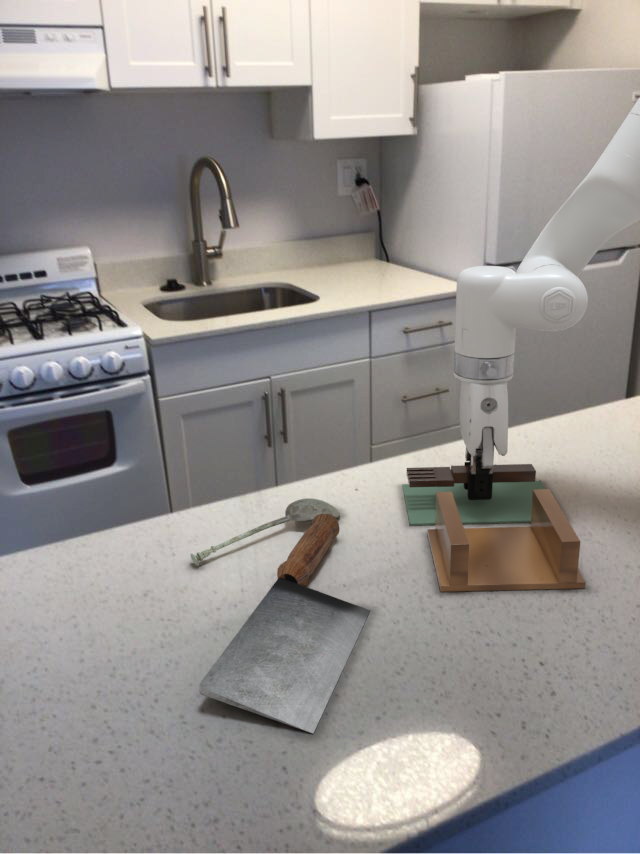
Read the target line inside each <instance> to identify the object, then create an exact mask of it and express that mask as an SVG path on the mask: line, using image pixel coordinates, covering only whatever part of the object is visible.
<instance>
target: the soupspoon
mask: <svg viewBox="0 0 640 854" xmlns="http://www.w3.org/2000/svg"><path fill="white" fill-rule="evenodd" d="M284 512H285V513H284V515H285V516H282V517H280V518H277V519H274V520H271V521H269V522H266V523H264V524H261V525H259V526H256V527H255V528H252V529H250V530H247V531H246V532H243V533H241V534H239V535H236V536H234V537H232V538H230V539H228V540H226V541H223V542H221V543H219V544H217V545H215V546H214V545H211V546H210V548H208V549H207V548H206V549H203V550H202V551H200V552H196V555H195V554H194V553H193V552H192V553H191V552H190V559H191V561H192V562H193V564H194V565H195V566H196V567H199V565H200V562H203V561H204V559H206V558H207V557H209V556H211V554H212V553H214V554H215V553H217V551H219V550H221V549H223V548H225V547H228V546H230V545H232V544H235V543H237V542H240V541H242V540H244V539H246V538H249V537H251V536H254V535H255V534H258V533H260V532H263V531H265V530H268V529H270V528H273V527H275V526H279V525H282V524H286V523H289V522H305V521H313V519H314V517H316V516H317V515H319V514H331V515H333V516H334V517H336V519H337V518H339V517H340V516H341V513H340V511H339V510H338V509H337V508H335V507H334V506H333V505H331V504H330V503H329V502H327V501H324V500H321V499H318V498H311V497H310V498H309V497H308V498H300V499H297V500H295V501H293V502H291V503H289V504H288V505H287V507H286V508H285V510H284Z"/></svg>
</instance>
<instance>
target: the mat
mask: <svg viewBox="0 0 640 854" xmlns="http://www.w3.org/2000/svg"><path fill="white" fill-rule="evenodd" d="M401 487H402V492H403V497H404V502H405V508H406V512H407V517H408V518H407V519H408V524H409V526H435V522H436V492H452V494H453V497H454V500H455V503H456V506H457V509H458V512H459V515H460V518H461V521H462V524H463V525H477V524H478V525H482V524H486V525H487V524H488V525H489V524H522V523H523V524H524V523H531V510H532V495H533V490H536V489H546V487H545V485H544V483H543V482H542V480H539V479H538V480H535V482H500V483H493V485H492V498H491V499H490V500H469V499H468V497H467V493H468V490H466V489H465V488H464V483H454V487H409V483H402V484H401Z"/></svg>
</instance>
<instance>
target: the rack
mask: <svg viewBox="0 0 640 854" xmlns="http://www.w3.org/2000/svg"><path fill="white" fill-rule="evenodd" d="M434 526H435V528H428V529H427V532H426V533H427V538H428V543H429V547H430V551H431V552H430V553H431V555H432V560H433V565H434V568H435V574H436V577H437V582H438V586H439V590H440V592H443V593H444V592H482V591H483V592H486V591H488V592H489V591H525V590H526V591H527V590H529V591H531V590H567V589H571V590H572V589H574V590H575V589H586V582H587V581H586V580H585V579H584V577H583V575H582V573H581V571H580V569H579V562H580V552H581V543H582V542H581V539H580V538H579V537H578V535H577V533H576V531H575V529H574V528H573V527H572V525H571V523H570V521H569V519H568V518H567V516H566V515H565V513H564V512H563V509H562V508H561V507H560V505H559V503H558V502H557V500H556V498H555V497H554V495H553V494H552V492H551V490H550V489H549V488H545V489H536V490H533V495H532V510H531V522H530V526H504V527H503V526H500V527H499V526H498V527H464V524H462V521H461V518H460V515H459V512H458V509H457V506H456V503H455V500H454V497H453V494H452V492H436V522H435V525H434Z"/></svg>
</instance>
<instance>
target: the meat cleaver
mask: <svg viewBox="0 0 640 854" xmlns="http://www.w3.org/2000/svg"><path fill="white" fill-rule="evenodd" d="M311 521H312V522H311V525H310V526H309V527H307V529H306V530H305V532H304V533H303V534H302V535H301V537H300V538H299V540H298V541H297V543H296V544H295V546H294V547H293V548H292V550H291V551H290V553H289V555H288V556H287V559H286V560H285V561H283V562H282V563H280V564H279V566H278V568H277V571H276V576H277V579H276V581H275V582H274V583H273V585H272V586H271V588H270V589H269V590H268V592H267V593H266V594H265V595H264V597H263V598H262V600H261V601H260V602H259V603H258V605H257V606H256V608H255V609H254V610H253V611H252V612H251V614H250V615H249V617H248V618H247V619H246V621H245V622H244V623H243V625H242V626H241V627H240V628H239V630H238V631H237V633H236V634H235V635H234V637H232V640H231V641H230V642H229V644H228V645H227V646H226V648H225V649H224V650H223V651H222V653H221V655H219V656H218V658H217V660H216V661H215V662H214V664H213V665H212V666H211V668H210V669H209V670H208V672H207V673H206V674H205V676H204V677H203V679H202V680H201V681H200V682H199V684H198V685H199V686H198V692H199V694H200V695H202V696H205V697H207V698H211V699H213V700H216V701H219V702H222V703H225V704H228V705H230V706H233V707H236V708H239V709H242V710H245V711H247V712H249V713H253V714H256V715H259V716H261V717H264V718H268V719H270V720H273V721H276V722H278V723H282V724H283V725H284V724H285V725H286V726H290V727H292V728H296V729H298V730H301V731H304V732H307V733H310V734H314V733H315V731H316V729H317V727H318V725H319V722H320V721H321V719H322V716H323V714H324V712H325V710H326V706H327V705H328V703H329V701H330V700H331V699H330V698H331V697H332V694H333V692H334V690H335V688H336V686H337V683H338V681H339V679H340V677H341V675H342V673H343V670H344V669H345V667H346V664H347V662H348V659H349V658H350V655H351V654H352V651H353V648H354V647H355V644H356V642H357V640H358V638H359V637H360V633H361V632H362V629H363V628H364V625H365V623H366V621H367V619H368V617H369V614H370V612H371V609H367V608H365V607H362V606H359V605H356V604H354V603H352V602H349V601H346V600H343V599H341V598H338V597H335V596H332V595H329V594H327V593H324V592H321V591H318V590H316V589H313V588H311V587H307V586H308V584H309V580H310V576H311V575H312V574H313V573H314V571H315V570H316V568H317V567H318V565H319V564H320V562H321V560H322V559H323V557H324V555H326V553H327V551H328V550H329V548H330V546H331V545H332V541H333V539H335V538H336V537H338V535H339V533H340V528H341V527H340V524H339V521H338V519H337V518H336V517H334V516H333V515H331V514H319V515H317V516H316V517H314V519H313V520H311Z"/></svg>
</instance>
